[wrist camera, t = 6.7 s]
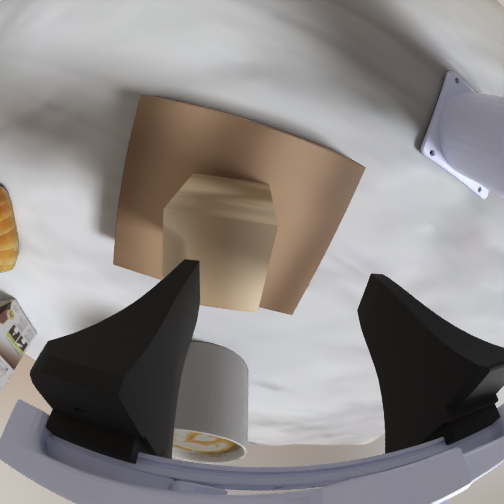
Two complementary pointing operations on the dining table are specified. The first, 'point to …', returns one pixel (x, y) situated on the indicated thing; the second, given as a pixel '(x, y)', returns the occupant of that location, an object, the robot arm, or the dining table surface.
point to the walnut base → (235, 167)
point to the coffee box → (12, 337)
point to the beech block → (222, 238)
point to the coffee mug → (211, 406)
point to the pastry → (7, 233)
